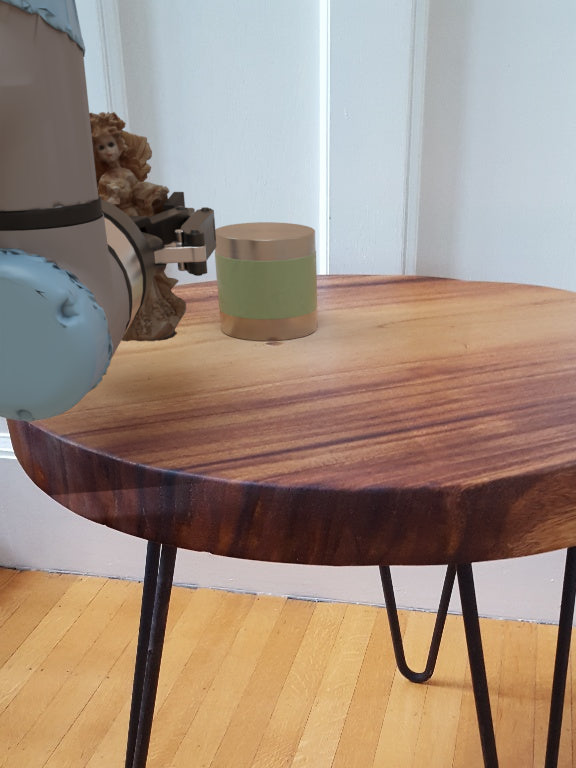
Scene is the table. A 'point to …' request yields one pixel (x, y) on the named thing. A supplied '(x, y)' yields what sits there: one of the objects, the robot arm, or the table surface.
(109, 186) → the figurine
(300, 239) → the tin can
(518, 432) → the table surface
